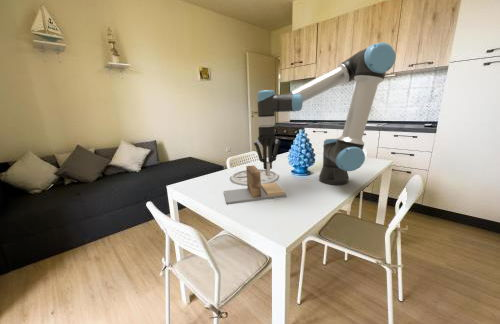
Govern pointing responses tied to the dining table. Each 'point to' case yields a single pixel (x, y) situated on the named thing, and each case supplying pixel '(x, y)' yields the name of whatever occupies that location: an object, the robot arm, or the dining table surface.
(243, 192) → the underlay board
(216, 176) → the dining table surface
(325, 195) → the dining table surface
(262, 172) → the wall clock
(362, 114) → the robot arm
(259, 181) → the brown wooden square block
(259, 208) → the dining table surface
